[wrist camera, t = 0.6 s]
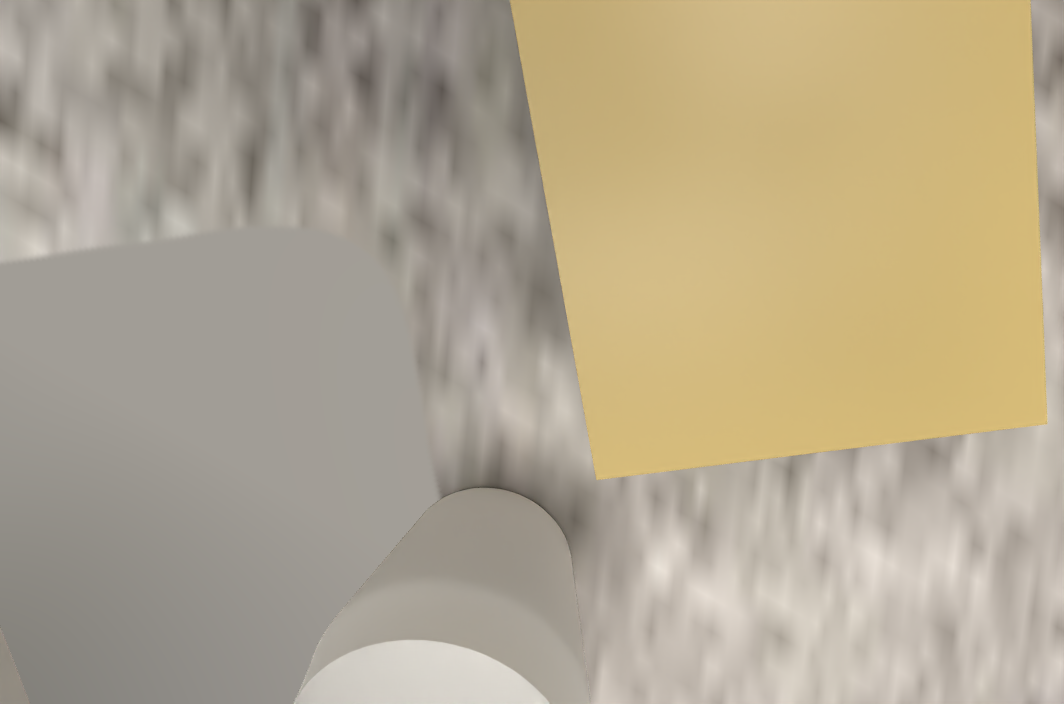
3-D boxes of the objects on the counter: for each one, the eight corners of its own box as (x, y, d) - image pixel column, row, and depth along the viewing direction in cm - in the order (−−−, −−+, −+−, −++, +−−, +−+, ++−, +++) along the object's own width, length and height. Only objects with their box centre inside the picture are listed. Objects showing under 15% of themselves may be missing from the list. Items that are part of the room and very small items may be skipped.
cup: (339, 578, 41) (222, 787, 29) (457, 413, 38) (378, 574, 27) (519, 695, 42) (472, 943, 30) (648, 543, 39) (650, 752, 27)
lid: (453, -343, 23) (362, -523, 16) (994, -484, 22) (1183, -765, 14) (597, 465, 29) (582, 614, 22) (1033, 410, 27) (1181, 553, 20)
